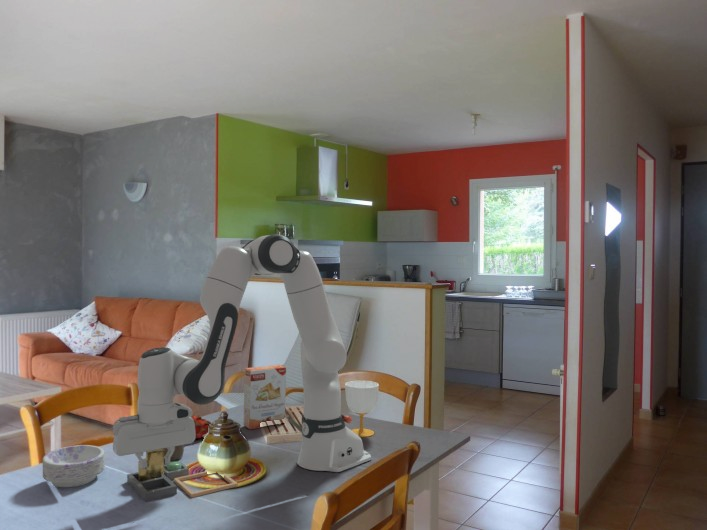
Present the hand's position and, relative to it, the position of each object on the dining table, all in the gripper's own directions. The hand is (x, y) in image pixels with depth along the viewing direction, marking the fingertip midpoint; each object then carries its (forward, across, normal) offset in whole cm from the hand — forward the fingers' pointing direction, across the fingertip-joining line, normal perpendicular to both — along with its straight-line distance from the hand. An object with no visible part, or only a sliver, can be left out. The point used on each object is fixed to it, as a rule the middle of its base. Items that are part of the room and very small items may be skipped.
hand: (155, 465), depth 155 cm
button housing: (+8, +8, +9) cm, 14 cm away
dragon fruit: (+8, +26, +39) cm, 48 cm away
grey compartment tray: (+8, 0, +3) cm, 8 cm away
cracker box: (+8, +52, +39) cm, 66 cm away
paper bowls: (+8, -15, +21) cm, 27 cm away
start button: (+7, +8, +9) cm, 14 cm away
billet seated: (+7, 0, +7) cm, 10 cm away
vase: (+8, +12, +22) cm, 26 cm away
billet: (+2, 0, 0) cm, 2 cm away
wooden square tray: (+8, +13, -2) cm, 15 cm away
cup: (+8, +75, +12) cm, 77 cm away
